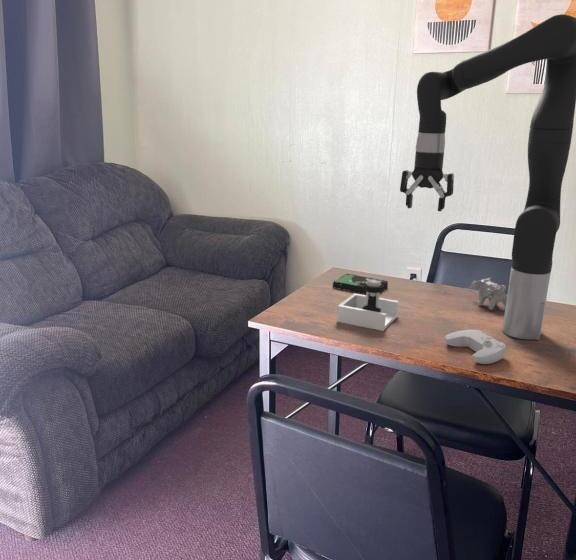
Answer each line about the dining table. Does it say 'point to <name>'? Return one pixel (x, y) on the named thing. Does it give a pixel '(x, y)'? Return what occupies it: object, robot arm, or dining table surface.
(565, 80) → the robot arm
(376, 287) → the push button
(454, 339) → the game controller
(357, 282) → the disk drive
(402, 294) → the dining table surface
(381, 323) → the box
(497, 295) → the elephant statuette
